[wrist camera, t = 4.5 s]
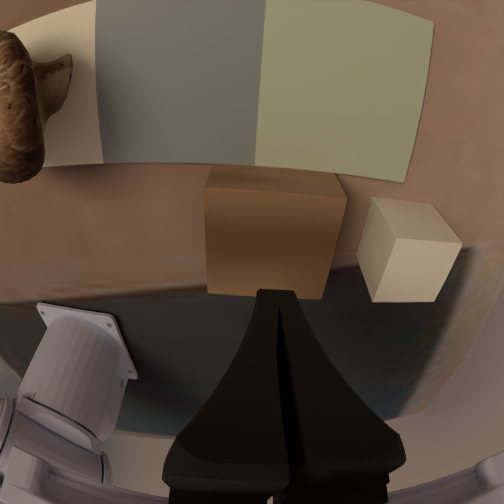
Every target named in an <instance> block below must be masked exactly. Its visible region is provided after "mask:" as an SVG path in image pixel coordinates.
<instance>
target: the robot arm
mask: <svg viewBox="0 0 504 504" xmlns="http://www.w3.org/2000/svg"><path fill="white" fill-rule="evenodd" d="M37 309H38V311H39V313H40V315H41V317H42V319H43V320H44V322H45V324H46V326H47V327H48V329H47V330H46V332H45V334H44V336H43V338H42V340H41V342H40V344H39V346H38V348H37V350H36V352H35V355H34V357H33V359H32V361H31V363H30V365H29V367H28V370H27V372H26V374H25V376H24V379H23V381H22V383H21V385H20V388H19V390H18V393H17V395H16V397H15V398H13V399H10V398H9V397H7V396H6V397H4V398H0V504H267V500H268V499H269V498H270V497H271V496H273V504H504V450H503V451H501V452H499V453H497V454H494V455H492V456H490V457H488V458H486V459H484V460H483V461H480V462H479V463H477V464H476V465H475V466H472V467H470V468H467V469H465V470H462V471H460V472H457V473H454V474H451V475H448V476H446V477H442V478H439V479H437V480H433V481H430V482H427V483H423V484H420V485H416V486H412V487H409V488H405V489H401V490H397V491H393V492H388V493H387V486H386V484H388V483H389V481H390V480H389V473H390V472H392V471H394V470H396V469H397V468H399V467H401V466H402V465H403V464H404V463H405V461H406V455H405V450H404V446H403V443H402V441H401V438H400V435H399V434H398V433H397V432H395V431H394V430H393V429H392V428H390V427H389V426H388V425H387V424H386V423H385V422H384V421H383V420H381V419H380V418H379V417H378V416H377V415H376V414H375V413H374V412H373V411H372V410H371V409H370V408H369V407H368V406H367V405H366V404H365V403H364V402H363V401H362V399H361V398H360V397H359V396H358V395H357V394H356V393H355V392H354V391H353V389H352V388H351V387H350V386H349V385H348V383H347V382H346V381H345V380H344V378H343V377H342V376H341V374H340V373H339V372H338V370H337V369H336V368H335V366H334V365H333V363H332V362H331V360H330V359H329V357H328V356H327V354H326V353H325V351H324V349H323V348H322V346H321V345H320V343H319V341H318V339H317V338H316V336H315V334H314V332H313V330H312V328H311V327H310V325H309V323H308V321H307V319H306V317H305V315H304V312H303V310H302V308H301V306H300V303H299V301H298V299H297V296H296V293H295V292H294V291H293V290H276V289H259V290H257V293H256V303H255V307H254V311H253V314H252V317H251V320H250V323H249V326H248V328H247V331H246V333H245V336H244V338H243V340H242V342H241V345H240V347H239V349H238V351H237V353H236V355H235V357H234V359H233V361H232V362H231V364H230V366H229V368H228V370H227V371H226V373H225V375H224V376H223V378H222V379H221V381H220V382H219V384H218V386H217V387H216V389H215V390H214V391H213V393H212V394H211V396H210V397H209V398H208V400H207V401H206V402H205V404H204V405H203V406H202V408H201V409H200V410H199V411H198V413H197V414H196V415H195V416H194V418H193V419H192V420H191V421H190V422H189V423H188V424H187V425H186V427H185V428H184V429H183V430H182V431H181V432H180V433H179V434H178V435H177V437H176V439H175V441H174V442H173V444H172V446H171V448H170V450H169V452H168V454H167V456H166V459H165V462H164V467H163V474H162V480H163V481H164V482H165V483H166V484H167V485H168V486H169V487H170V492H169V498H165V497H160V496H154V495H150V494H145V493H140V492H136V491H131V490H127V489H123V488H119V487H115V486H112V469H111V465H110V462H109V459H108V457H107V455H106V454H105V453H104V452H103V451H102V450H103V446H104V442H103V440H105V439H106V438H107V437H108V436H109V435H110V434H111V433H112V432H113V430H114V428H115V425H116V422H117V418H118V414H119V410H120V406H121V403H122V399H123V395H124V392H125V388H126V385H127V381H128V378H129V379H137V378H138V374H137V371H136V369H135V367H134V364H133V362H132V360H131V357H130V355H129V353H128V350H127V348H126V345H125V343H124V340H123V338H122V335H121V333H120V330H119V328H118V325H117V322H116V320H115V318H114V316H112V315H111V314H106V313H99V312H93V311H86V310H80V309H74V308H68V307H62V306H57V305H51V304H46V303H38V304H37Z"/></svg>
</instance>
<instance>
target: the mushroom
mask: <svg viewBox="0 0 504 504" xmlns="http://www.w3.org/2000/svg"><path fill="white" fill-rule="evenodd" d="M72 70H73V59H72V54H66V55H64V56H62V57H60V58H58V59H56V60H53V61H50V62H44V63H39V62H36V61H34V60H32V59H31V58H30V55H29V52H28V51H27V49H26V48H25V46H24V45H23V43H22V42H21V40H20V39H19V38H18V37H17V36H16V35H15V34H14V33H12V32H6V31H0V181H1V182H4V183H12V184H15V183H22V182H24V181H27V180H30V179H31V178H32V177H34V176H35V175H37V174H38V172H39V171H40V170H41V169H42V167H43V164H44V161H45V144H44V131H45V126H46V123H47V121H48V119H49V118H50V116H52V115H53V114H55V113H57V112H58V111H59V110H60V108H61V107H62V106H63V104H64V101H65V99H66V97H67V95H68V91H69V86H70V82H71V76H72Z"/></svg>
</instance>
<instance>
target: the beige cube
mask: <svg viewBox="0 0 504 504" xmlns="http://www.w3.org/2000/svg"><path fill="white" fill-rule="evenodd" d="M461 246H462V242H461V241H460V240H459V238H458V237H457V236H456V234H455V233H454V232H453V231H452V229H451V228H450V227H449V226H448V224H447V223H446V222H445V221H444V219H443V218H442V217H441V216H440V214H439V213H438V212H437V211H436V210H435V208H434V207H433V206H432V205H430V204H423V203H416V202H408V201H401V200H392V199H384V198H375V197H372V199H371V203H370V207H369V211H368V214H367V218H366V222H365V226H364V230H363V233H362V237H361V240H360V244H359V247H358V251H357V254H356V257H357V260H358V262H359V265H360V268H361V271H362V273H363V276H364V279H365V282H366V285H367V288H368V291H369V294H370V296H371V299H372V302H434V301H435V299H436V297H437V295H438V293H439V291H440V289H441V287H442V286H443V284H444V282H445V280H446V278H447V276H448V274H449V272H450V270H451V268H452V266H453V263H454V261H455V259H456V257H457V255H458V253H459V251H460V248H461Z"/></svg>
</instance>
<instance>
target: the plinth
mask: <svg viewBox="0 0 504 504" xmlns="http://www.w3.org/2000/svg"><path fill="white" fill-rule="evenodd" d="M204 198H205V238H206V265H207V287H208V293H212V294H226V295H242V296H256V293H257V290H259V289H276V290H293V291H294V292H295V293H296V296H297V299H322V295H323V292H324V288H325V285H326V281H327V278H328V274H329V271H330V267H331V263H332V259H333V256H334V252H335V248H336V244H337V240H338V236H339V232H340V228H341V224H342V220H343V216H344V212H345V207H346V203H347V199H348V198H347V196H346V194H345V192H344V190H343V188H342V187H341V185H340V183H339V181H338V179H337V177H336V175H335V173H330V172H321V171H312V170H302V169H291V168H279V167H266V166H251V165H233V164H213V166H212V169H211V171H210V174H209V177H208V179H207V182H206V185H205V187H204Z"/></svg>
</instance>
